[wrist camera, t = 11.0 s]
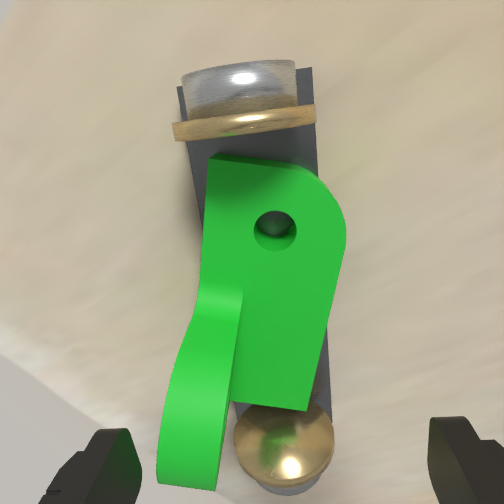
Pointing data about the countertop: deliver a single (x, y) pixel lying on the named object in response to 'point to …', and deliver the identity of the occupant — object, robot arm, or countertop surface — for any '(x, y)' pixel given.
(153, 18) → the countertop surface
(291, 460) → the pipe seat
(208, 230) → the mechanical part
